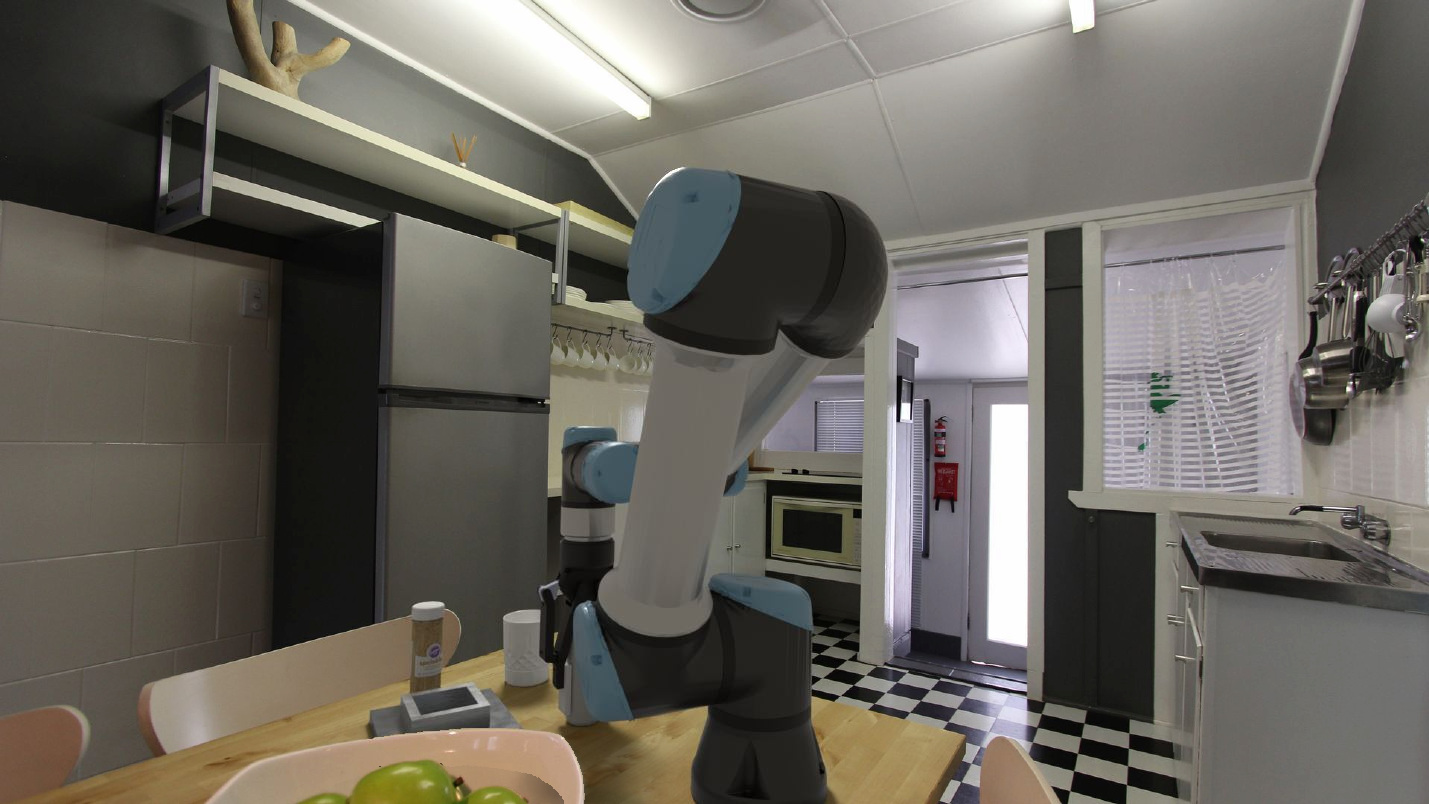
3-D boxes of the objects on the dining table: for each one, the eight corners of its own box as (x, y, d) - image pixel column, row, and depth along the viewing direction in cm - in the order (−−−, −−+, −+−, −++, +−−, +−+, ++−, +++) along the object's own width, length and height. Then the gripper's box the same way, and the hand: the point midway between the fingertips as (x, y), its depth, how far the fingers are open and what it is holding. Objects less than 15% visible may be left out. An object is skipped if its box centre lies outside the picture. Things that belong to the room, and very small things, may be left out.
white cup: (537, 667, 113) (539, 607, 113) (561, 680, 107) (563, 616, 107) (492, 678, 107) (494, 615, 108) (515, 692, 102) (517, 625, 102)
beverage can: (558, 722, 91) (560, 633, 92) (580, 710, 95) (582, 624, 96) (586, 730, 89) (588, 638, 90) (608, 717, 93) (609, 629, 94)
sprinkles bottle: (425, 703, 97) (428, 609, 98) (401, 698, 99) (404, 606, 99) (448, 692, 101) (451, 602, 102) (424, 687, 103) (428, 599, 104)
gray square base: (522, 740, 86) (523, 708, 86) (383, 773, 77) (385, 737, 77) (490, 698, 99) (491, 670, 99) (369, 721, 91) (370, 691, 91)
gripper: (634, 529, 101) (630, 686, 100) (515, 537, 92) (510, 711, 91) (657, 536, 95) (654, 703, 94) (532, 545, 86) (527, 732, 84)
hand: (583, 706), depth 92 cm, fingers closed on beverage can, 5 cm apart
